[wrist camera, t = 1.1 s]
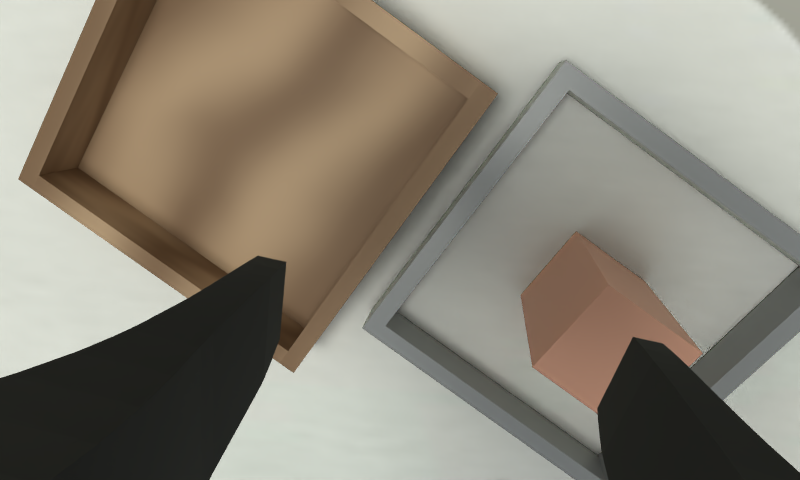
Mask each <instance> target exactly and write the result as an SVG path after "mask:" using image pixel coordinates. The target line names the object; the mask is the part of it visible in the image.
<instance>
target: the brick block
mask: <svg viewBox="0 0 800 480" xmlns="http://www.w3.org/2000/svg"><path fill="white" fill-rule="evenodd" d="M521 300H522V306H523V312H524V318H525V325H526V331H527V337H528V343H529V349H530V355H531V362H532V367H533V368H534V369H536V370H537V371H539V372H540V373H541V374H543V375H544V376H545V377H547V378H548V379H550V380H551V381H552V382H554V383H555V384H557V385H558V386H559V387H561V388H562V389H564V390H565V391H566V392H568V393H569V394H571V395H572V396H573V397H575V398H576V399H578V400H579V401H580V402H582V403H583V404H584V405H586V406H587V407H589V408H590V409H591V410H593V411H594V412H596V413H597V408H598V406H599V404H600V402H601V400H602V398H603V396H604V394H605V392H606V390H607V388H608V386H609V384H610V382H611V380H612V378H613V376H614V374H615V372H616V370H617V368H618V366H619V364H620V362H621V360H622V358H623V356H624V354H625V352H626V350H627V348H628V346H629V344H630V342H631V340H632V338H633V337H636V338H641V339H645V340H650V341H654V342H659V343H663V344H664V345H665V346H667V347H668V348H669V349H670V350H671V351H672V352H673V353H675V354H676V355H677V356H678V357H679V358H680V359H681V360H682V361H683V362H684V363H685V364H686V365H687V366H688V367H689V366H690V365H691V364H692V363H693V362H694V361H695V360H696V359H697V358H699V357H700V356H701V355H702V354H703V353H702V352H701V351H700V349H699V348H698V347H697V346H696V344H695V343H694V342H693V341H692V339H691V338H690V337H689V336H688V334H687V333H686V332H685V331H684V329H683V328H682V327H681V326H680V324H679V323H678V322H677V321H676V320H675V318H674V317H673V316H672V315H671V313H670V312H669V311H668V310H667V308H666V307H665V306H664V305H663V303H662V302H661V301H660V300H659V298H658V297H657V296H656V295H655V293H654V292H653V291H652V290H651V288H650V287H649V286H648V285H647V284H646V282H645V281H643V280H642V279H641V278H639V277H638V276H636V275H635V274H634V273H632V272H631V271H630V270H628V269H627V268H626V267H624V266H623V265H621V264H620V263H619V262H617V261H616V260H615V259H613V258H612V257H611V256H609V255H608V254H606V253H605V252H604V251H602V250H601V249H600V248H598V247H597V246H596V245H594V244H593V243H591V242H590V241H589V240H587V239H586V238H585V237H583V236H582V235H581V234H579V233H578V232H575V233H574V234H573V235H572V236H571V238H570V239H569V240H568V241H567V242H566V243H565V245H564V246H563V247H562V248H561V249H560V250H559V251H558V253H557V254H556V255H555V256H554V257H553V258H552V260H551V261H550V262H549V263H548V264H547V265H546V266H545V268H544V269H543V270H542V271H541V272H540V273H539V275H538V276H537V277H536V278H535V279H534V280H533V281H532V283H531V284H530V285H529V286H528V287H527V288H526V290H525V291H524V292H523V293H522V294H521ZM597 414H598V413H597Z"/></svg>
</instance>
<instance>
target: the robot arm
mask: <svg viewBox="0 0 800 480" xmlns="http://www.w3.org/2000/svg"><path fill="white" fill-rule="evenodd" d="M285 273H286V262H285V261H280V260H276V259H271V258H267V257H262V256H256V257H255V258H253V259H251V260H250V261H248V262H246V263H245V264H243V265H241V266H240V267H238V268H236V269H235V270H233V271H232V272H230V273H229V274H227V275H225V276H224V277H222V278H221V279H219V280H217V281H216V282H214V283H212V284H211V285H209V286H208V287H206V288H204V289H203V290H201V291H199V292H197V293H196V294H194V295H192V296H191V297H189V298H187V299H186V300H184V301H182V302H180V303H179V304H177V305H175V306H173V307H171V308H169V309H167V310H165V311H164V312H162V313H160V314H158V315H156V316H154V317H152V318H150V319H149V320H147V321H145V322H143V323H141V324H139V325H137V326H135V327H133V328H131V329H128V330H126V331H124V332H122V333H120V334H118V335H115V336H113V337H111V338H108V339H106V340H104V341H101V342H99V343H97V344H94V345H92V346H90V347H87V348H85V349H82V350H80V351H77V352H75V353H72V354H69V355H66V356H63V357H61V358H58V359H55V360H52V361H49V362H46V363H44V364H41V365H38V366H35V367H32V368H29V369H27V370H24V371H21V372H18V373H15V374H12V375H9V376H6V377H2V378H0V480H209V479H210V477H211V475H212V473H213V472H214V470H215V468H216V466H217V464H218V463H219V461H220V459H221V457H222V455H223V453H224V452H225V450H226V448H227V446H228V444H229V443H230V441H231V439H232V437H233V435H234V434H235V432H236V430H237V428H238V426H239V424H240V423H241V421H242V419H243V417H244V415H245V414H246V412H247V410H248V408H249V406H250V404H251V403H252V401H253V399H254V397H255V395H256V393H257V392H258V390H259V388H260V386H261V384H262V382H263V380H264V378H265V375H266V373H267V370H268V368H269V366H270V363H271V361H272V358H273V355H274V353H275V350H276V348H277V345H278V342H279V340H280V331H281V320H282V308H283V296H284V285H285ZM597 413H598V423H599V433H600V441H601V449H602V456H603V460H604V464H605V468H606V472H607V476H608V480H800V472H798V471H797V470H796V469H795V468H794V467H793V466H792V465H791V464H790V463H788V462H787V461H786V460H785V459H784V458H783V457H782V456H781V455H779V454H778V453H777V452H776V451H775V450H774V449H773V448H772V447H771V446H769V445H768V444H767V443H766V442H765V441H764V440H763V439H762V438H761V437H760V436H759V435H758V434H757V433H756V432H755V431H753V430H752V429H751V428H750V427H749V426H748V425H747V424H746V423H745V422H744V421H743V420H742V419H741V418H740V417H739V416H738V415H737V414H736V413H735V412H734V411H733V410H732V409H731V408H730V407H729V406H728V405H727V404H726V403H725V402H724V401H723V400H722V399H721V398H720V397H719V396H718V395H717V394H716V393H715V392H714V391H713V390H712V389H711V388H710V387H709V386H708V385H706V384H705V383H704V382H703V381H702V380H701V379H700V378H699V377H698V376H697V375H696V374H695V373H694V372H693V371H692V370H691V369H690V368H689V367H688V366H687V365H686V364H685V363H684V362H683V361H682V360H681V359H680V358H679V357H678V356H677V355H676V354H675V353H673V352H672V351H671V350H670V349H669V348H668V347H667V346H665V345H664V344H663V343H659V342H654V341H650V340H645V339H641V338H636V337H633V338H632V340H631V342H630V344H629V346H628V348H627V350H626V352H625V354H624V356H623V358H622V360H621V362H620V364H619V366H618V368H617V370H616V372H615V374H614V376H613V378H612V380H611V382H610V384H609V386H608V388H607V390H606V392H605V394H604V396H603V398H602V400H601V402H600V404H599V406H598V408H597Z"/></svg>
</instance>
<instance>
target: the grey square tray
mask: <svg viewBox="0 0 800 480" xmlns="http://www.w3.org/2000/svg"><path fill="white" fill-rule="evenodd" d="M566 93H568V94H569V95H570V96H572V97H573V98H574V99H576V100H577V101H578V102H580V103H581V104H583V105H584V106H585V107H587V108H588V109H589V110H591V111H592V112H593V113H595V114H596V115H597V116H599V117H600V118H601V119H603V120H604V121H605V122H607V123H608V124H609V125H611V126H612V127H613V128H615V129H616V130H617V131H619V132H620V133H621V134H623V135H624V136H626V137H627V138H628V139H630V140H631V141H632V142H634V143H635V144H636V145H638V146H639V147H640V148H642V149H643V150H644V151H646V152H647V153H648V154H650V155H651V156H652V157H654V158H655V159H656V160H658V161H659V162H660V163H662V164H663V165H664V166H666V167H667V168H669V169H670V170H671V171H673V172H674V173H675V174H677V175H678V176H679V177H681V178H682V179H683V180H685V181H686V182H687V183H689V184H690V185H691V186H693V187H694V188H695V189H697V190H698V191H699V192H701V193H702V194H703V195H705V196H706V197H708V198H709V199H710V200H712V201H713V202H714V203H716V204H717V205H718V206H720V207H721V208H722V209H724V210H725V211H726V212H728V213H729V214H730V215H732V216H733V217H734V218H736V219H737V220H738V221H740V222H741V223H742V224H744V225H745V226H746V227H748V228H749V229H751V230H752V231H753V232H755V233H756V234H757V235H759V236H760V237H761V238H763V239H764V240H765V241H767V242H768V243H769V244H771V245H772V246H773V247H775V248H776V249H777V250H779V251H780V252H781V253H783V254H784V255H785V256H787V257H788V258H789V259H791V260H792V261H794V262H795V263H796V264H798V265H799V267H798V268H797V269H796V270H795V271H794V272H793V273H792V274H791V275H789V276H788V277H787V278H786V279H785V280H784V281H783V282H782V283H781V284H780V285H779V286H778V287H777V288H776V289H775V290H774V291H772V292H771V293H770V294H769V295H768V296H767V297H766V298H765V299H764V300H763V301H762V302H761V303H760V304H759V305H758V306H757V307H756V308H754V309H753V310H752V311H751V312H750V313H749V314H748V315H747V316H746V317H745V318H744V319H743V320H742V321H741V322H740V323H739V324H737V325H736V326H735V327H734V328H733V329H732V330H731V331H730V332H729V333H728V334H727V335H726V336H725V337H724V338H723V339H722V340H720V341H719V342H718V343H717V344H716V345H715V346H714V347H713V348H712V349H711V350H710V351H709V352H708V353H707V354H706V355H705V356H704V357H702V358H701V359H700V360H699V361H698V362H697V363H696V364H695V365H694V366H693V367H692V368H691V370H692V371H693V372H694V373H695V374H696V375H697V376H698V377H699V378H700V379H701V380H702V381H703V382H704V383H705V384H706V385H708V386H709V387H710V388H711V389H712V390H713V391H714V392H715V393H716V394H717V395H718V396H719V397H720V398H721V399H722V400H724V399H725V398H726V397H727V396H728V395H729V394H730V393H732V392H733V391H734V390H735V389H736V388H737V387H738V386H739V385H740V384H742V383H743V382H744V381H745V380H746V379H747V378H748V377H749V376H751V375H752V374H753V373H754V372H755V371H756V370H757V369H758V368H759V367H761V366H762V365H763V364H764V363H765V362H766V361H767V360H768V359H770V358H771V357H772V356H773V355H774V354H775V353H776V352H777V351H778V350H780V349H781V348H782V347H783V346H784V345H785V344H786V343H787V342H789V341H790V340H791V339H792V338H793V337H794V336H795V335H796V334H797V333H799V332H800V234H798V233H797V232H796V231H794V230H793V229H792V228H790V227H789V226H788V225H786V224H785V223H784V222H782V221H781V220H780V219H778V218H777V217H776V216H774V215H773V214H772V213H770V212H769V211H768V210H766V209H765V208H764V207H762V206H761V205H760V204H758V203H757V202H756V201H754V200H753V199H752V198H750V197H749V196H748V195H746V194H745V193H744V192H742V191H741V190H740V189H738V188H737V187H735V186H734V185H733V184H731V183H730V182H729V181H727V180H726V179H725V178H723V177H722V176H721V175H719V174H718V173H717V172H715V171H714V170H713V169H711V168H710V167H709V166H707V165H706V164H705V163H703V162H702V161H701V160H699V159H698V158H697V157H695V156H694V155H693V154H691V153H690V152H689V151H687V150H686V149H685V148H683V147H682V146H681V145H679V144H678V143H677V142H675V141H674V140H673V139H671V138H670V137H669V136H667V135H666V134H665V133H663V132H662V131H661V130H659V129H658V128H656V127H655V126H654V125H652V124H651V123H650V122H648V121H647V120H646V119H644V118H643V117H642V116H640V115H639V114H638V113H636V112H635V111H634V110H632V109H631V108H630V107H628V106H627V105H626V104H624V103H623V102H622V101H620V100H619V99H618V98H616V97H615V96H614V95H612V94H611V93H610V92H608V91H607V90H606V89H604V88H603V87H602V86H600V85H599V84H598V83H596V82H595V81H594V80H592V79H591V78H590V77H588V76H587V75H586V74H584V73H583V72H582V71H580V70H579V69H577V68H576V67H575V66H573V65H572V64H571V63H569V62H568V61H567V60H565V61H562V62H560V63H559V64H558V65H557V67H556V68H555V69H554V70H553V72H552V73H551V74H550V76H549V77H548V78H547V80H546V81H545V82H544V84H543V85H542V86H541V88H540V89H539V90H538V92H537V93H536V94H535V96H534V97H533V98H532V99H531V101H530V102H529V103H528V105H527V106H526V107H525V109H524V110H523V111H522V113H521V114H520V115H519V117H518V118H517V119H516V121H515V122H514V123H513V125H512V126H511V127H510V128H509V130H508V131H507V132H506V134H505V135H504V136H503V138H502V139H501V140H500V142H499V143H498V144H497V146H496V147H495V148H494V150H493V151H492V152H491V154H490V155H489V156H488V158H487V159H486V160H485V161H484V163H483V164H482V165H481V167H480V168H479V169H478V171H477V172H476V173H475V175H474V176H473V177H472V179H471V180H470V181H469V183H468V184H467V185H466V187H465V188H464V189H463V190H462V192H461V193H460V194H459V196H458V197H457V198H456V200H455V201H454V202H453V204H452V205H451V206H450V208H449V209H448V210H447V212H446V213H445V214H444V216H443V217H442V218H441V219H440V221H439V222H438V223H437V225H436V226H435V227H434V229H433V230H432V231H431V233H430V234H429V235H428V237H427V238H426V239H425V241H424V242H423V243H422V245H421V246H420V247H419V248H418V250H417V251H416V252H415V254H414V255H413V256H412V258H411V259H410V260H409V262H408V263H407V264H406V266H405V267H404V268H403V270H402V271H401V272H400V274H399V275H398V276H397V277H396V279H395V280H394V281H393V283H392V284H391V285H390V287H389V288H388V289H387V291H386V292H385V293H384V295H383V296H382V297H381V299H380V300H379V301H378V303H377V304H376V305H375V307H374V308H373V309H372V310H371V312H370V314H369V316H368V318H367V320H366V322H365V324H364V326H363V329H364V330H366V331H367V332H368V333H370V334H371V335H373V336H374V337H375V338H377V339H378V340H380V341H381V342H382V343H384V344H385V345H387V346H388V347H389V348H391V349H392V350H394V351H395V352H396V353H398V354H399V355H401V356H402V357H404V358H405V359H406V360H408V361H409V362H411V363H412V364H413V365H415V366H416V367H418V368H419V369H420V370H422V371H423V372H425V373H426V374H427V375H429V376H430V377H432V378H433V379H434V380H436V381H437V382H439V383H440V384H441V385H443V386H444V387H446V388H447V389H449V390H450V391H451V392H453V393H454V394H456V395H457V396H458V397H460V398H461V399H463V400H464V401H465V402H467V403H468V404H470V405H471V406H472V407H474V408H475V409H477V410H478V411H479V412H481V413H482V414H484V415H485V416H486V417H488V418H489V419H491V420H492V421H494V422H495V423H496V424H498V425H499V426H501V427H502V428H503V429H505V430H506V431H508V432H509V433H510V434H512V435H513V436H515V437H516V438H517V439H519V440H520V441H522V442H523V443H524V444H526V445H527V446H529V447H530V448H531V449H533V450H534V451H536V452H537V453H539V454H540V455H541V456H543V457H544V458H546V459H547V460H548V461H550V462H551V463H553V464H554V465H555V466H557V467H558V468H560V469H561V470H562V471H564V472H565V473H567V474H568V475H569V476H571V477H572V478H574V479H575V480H608V476H607V472H606V468H605V464H604V460H603V456H602V453H601V454H600V455H599V456H597V455H596V454H595V453H593V452H592V451H590V450H589V449H588V448H586V447H585V446H583V445H582V444H581V443H579V442H578V441H576V440H575V439H574V438H572V437H571V436H569V435H568V434H567V433H565V432H564V431H562V430H561V429H560V428H558V427H557V426H555V425H554V424H553V423H551V422H550V421H548V420H547V419H546V418H544V417H543V416H541V415H540V414H539V413H537V412H536V411H534V410H533V409H532V408H530V407H529V406H527V405H526V404H525V403H523V402H522V401H520V400H519V399H518V398H516V397H515V396H513V395H512V394H511V393H509V392H508V391H507V390H505V389H504V388H502V387H501V386H500V385H498V384H497V383H495V382H494V381H493V380H491V379H490V378H488V377H487V376H486V375H484V374H483V373H481V372H480V371H479V370H477V369H476V368H474V367H473V366H472V365H470V364H469V363H467V362H466V361H465V360H463V359H462V358H460V357H459V356H458V355H456V354H455V353H453V352H452V351H451V350H449V349H448V348H446V347H445V346H444V345H442V344H441V343H439V342H438V341H437V340H435V339H434V338H432V337H431V336H430V335H428V334H427V333H425V332H424V331H423V330H421V329H420V328H418V327H417V326H416V325H414V324H413V323H411V322H410V321H409V320H407V319H406V318H404V317H403V316H402V315H400V314H399V313H397V310H398V309H399V308H400V306H401V305H402V304H403V303H404V301H405V300H406V299H407V297H408V296H409V295H410V294H411V292H412V291H413V290H414V288H415V287H416V286H417V285H418V283H419V282H420V281H421V279H422V278H423V277H424V276H425V274H426V273H427V272H428V270H429V269H430V268H431V267H432V265H433V264H434V263H435V261H436V260H437V259H438V258H439V256H440V255H441V254H442V253H443V251H444V250H445V249H446V247H447V246H448V245H449V244H450V242H451V241H452V240H453V238H454V237H455V236H456V235H457V233H458V232H459V231H460V229H461V228H462V227H463V226H464V224H465V223H466V222H467V220H468V219H469V218H470V217H471V215H472V214H473V213H474V211H475V210H476V209H477V208H478V206H479V205H480V204H481V202H482V201H483V200H484V199H485V197H486V196H487V195H488V193H489V192H490V191H491V190H492V188H493V187H494V186H495V184H496V183H497V182H498V181H499V179H500V178H501V177H502V175H503V174H504V173H505V172H506V170H507V169H508V168H509V166H510V165H511V164H512V163H513V161H514V160H515V159H516V158H517V156H518V155H519V154H520V152H521V151H522V150H523V149H524V147H525V146H526V145H527V143H528V142H529V141H530V140H531V138H532V137H533V136H534V134H535V133H536V132H537V131H538V129H539V128H540V127H541V125H542V124H543V123H544V122H545V120H546V119H547V118H548V116H549V115H550V114H551V113H552V111H553V110H554V109H555V107H556V106H557V105H558V104H559V102H560V101H561V100H562V98H563V97H564V96H565V95H566Z"/></svg>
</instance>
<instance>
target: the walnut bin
mask: <svg viewBox="0 0 800 480" xmlns="http://www.w3.org/2000/svg"><path fill="white" fill-rule="evenodd" d="M497 94H498V93H496V92H495V91H494V90H492V89H491V88H490V87H488V86H487V85H486V84H484V83H483V82H481V81H480V80H479V79H477V78H476V77H475V76H473V75H472V74H471V73H469V72H468V71H467V70H465V69H464V68H463V67H461V66H460V65H458V64H457V63H456V62H454V61H453V60H452V59H450V58H449V57H448V56H446V55H445V54H444V53H442V52H441V51H440V50H438V49H437V48H436V47H434V46H433V45H431V44H430V43H429V42H427V41H426V40H425V39H423V38H422V37H421V36H419V35H418V34H417V33H415V32H414V31H413V30H411V29H410V28H408V27H407V26H406V25H404V24H403V23H402V22H400V21H399V20H398V19H396V18H395V17H394V16H392V15H391V14H390V13H388V12H387V11H385V10H384V9H383V8H381V7H380V6H379V5H377V4H376V3H375V2H373V1H372V0H96V1H95V3H94V5H93V7H92V10H91V12H90V14H89V17H88V19H87V21H86V24H85V26H84V28H83V31H82V33H81V35H80V37H79V40H78V42H77V44H76V47H75V49H74V51H73V54H72V56H71V58H70V61H69V63H68V65H67V68H66V70H65V72H64V74H63V77H62V79H61V81H60V84H59V86H58V88H57V91H56V93H55V95H54V98H53V100H52V102H51V105H50V107H49V109H48V111H47V114H46V116H45V118H44V121H43V123H42V125H41V128H40V130H39V132H38V135H37V137H36V139H35V141H34V144H33V146H32V148H31V151H30V153H29V155H28V158H27V160H26V162H25V165H24V167H23V169H22V172H21V174H20V176H19V178H18V179H19V180H20V181H22V182H23V183H24V184H26V185H27V186H29V187H30V188H31V189H33V190H34V191H36V192H37V193H39V194H40V195H41V196H43V197H44V198H46V199H47V200H49V201H50V202H51V203H53V204H54V205H56V206H57V207H58V208H60V209H61V210H63V211H64V212H66V213H67V214H68V215H70V216H71V217H73V218H74V219H76V220H77V221H78V222H80V223H81V224H83V225H84V226H86V227H87V228H88V229H90V230H91V231H93V232H94V233H95V234H97V235H98V236H100V237H101V238H103V239H104V240H105V241H107V242H108V243H110V244H111V245H113V246H114V247H115V248H117V249H118V250H120V251H121V252H122V253H124V254H125V255H127V256H128V257H130V258H131V259H132V260H134V261H135V262H137V263H138V264H140V265H141V266H142V267H144V268H145V269H147V270H148V271H150V272H151V273H152V274H154V275H155V276H157V277H158V278H159V279H161V280H162V281H164V282H165V283H167V284H168V285H169V286H171V287H172V288H174V289H175V290H177V291H178V292H179V293H181V294H182V295H184V296H185V297H186V298H189V297H191V296H192V295H194V294H196V293H197V292H199V291H201V290H203V289H204V288H206V287H208V286H209V285H211V284H212V283H214V282H216V281H217V280H219V279H221V278H222V277H224V276H225V275H227V274H229V273H230V272H232V271H233V270H235V269H236V268H238V267H240V266H241V265H243V264H245V263H246V262H248V261H250V260H251V259H253V258H255V257H256V256H262V257H267V258H271V259H276V260H280V261H285V262H286V273H285V285H284V296H283V308H282V320H281V331H280V340H279V342H278V345H277V348H276V350H275V353H274V355H273V359H275V360H276V361H277V362H279V363H280V364H282V365H283V366H285V367H286V368H287V369H289V370H290V371H292V372H293V373H294V371H295V370H296V369H297V367H298V366H299V365H300V363H301V362H302V360H303V359H304V358H305V356H306V355H307V354H308V352H309V351H310V350H311V348H312V347H313V345H314V344H315V343H316V341H317V340H318V339H319V337H320V336H321V335H322V333H323V332H324V330H325V329H326V328H327V326H328V325H329V324H330V322H331V321H332V320H333V318H334V317H335V315H336V314H337V313H338V311H339V310H340V309H341V307H342V306H343V305H344V303H345V302H346V300H347V299H348V298H349V296H350V295H351V294H352V292H353V291H354V289H355V288H356V287H357V285H358V284H359V283H360V281H361V280H362V279H363V277H364V276H365V274H366V273H367V272H368V270H369V269H370V268H371V266H372V265H373V264H374V262H375V261H376V259H377V258H378V257H379V255H380V254H381V253H382V251H383V250H384V249H385V247H386V246H387V244H388V243H389V242H390V240H391V239H392V238H393V236H394V235H395V234H396V232H397V231H398V229H399V228H400V227H401V225H402V224H403V223H404V221H405V220H406V219H407V217H408V216H409V214H410V213H411V212H412V210H413V209H414V208H415V206H416V205H417V203H418V202H419V201H420V199H421V198H422V197H423V195H424V194H425V193H426V191H427V190H428V188H429V187H430V186H431V184H432V183H433V182H434V180H435V179H436V178H437V176H438V175H439V173H440V172H441V171H442V169H443V168H444V167H445V165H446V164H447V163H448V161H449V160H450V158H451V157H452V156H453V154H454V153H455V152H456V150H457V149H458V148H459V146H460V145H461V143H462V142H463V141H464V139H465V138H466V137H467V135H468V134H469V133H470V131H471V130H472V128H473V127H474V126H475V124H476V123H477V122H478V120H479V119H480V118H481V116H482V115H483V113H484V112H485V111H486V109H487V108H488V107H489V105H490V104H491V102H492V101H493V100H494V98H495V97H496V96H497Z"/></svg>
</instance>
